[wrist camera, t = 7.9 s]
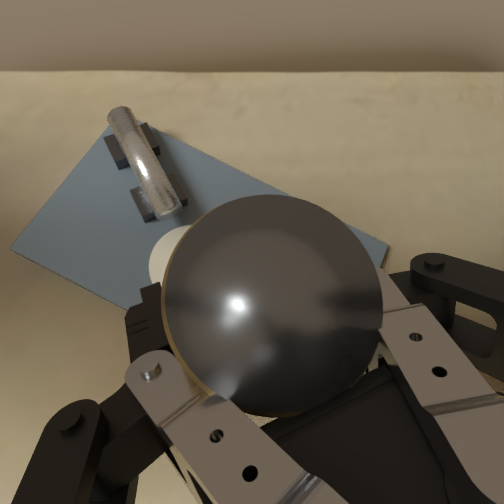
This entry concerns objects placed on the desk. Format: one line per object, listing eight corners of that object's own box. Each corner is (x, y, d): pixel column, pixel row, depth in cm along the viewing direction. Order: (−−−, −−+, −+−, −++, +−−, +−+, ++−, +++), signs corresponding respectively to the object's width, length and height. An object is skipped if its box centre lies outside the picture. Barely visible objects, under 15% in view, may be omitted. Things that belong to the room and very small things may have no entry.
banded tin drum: (172, 383, 16) (127, 389, 7) (198, 281, 18) (193, 168, 8) (277, 406, 16) (379, 442, 7) (294, 302, 18) (393, 217, 8)
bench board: (16, 252, 27) (7, 247, 25) (122, 119, 31) (119, 110, 30) (321, 412, 26) (326, 413, 24) (382, 248, 30) (389, 243, 29)
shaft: (193, 220, 29) (192, 195, 25) (152, 238, 28) (143, 216, 24) (148, 134, 31) (139, 99, 27) (107, 149, 30) (93, 115, 26)
